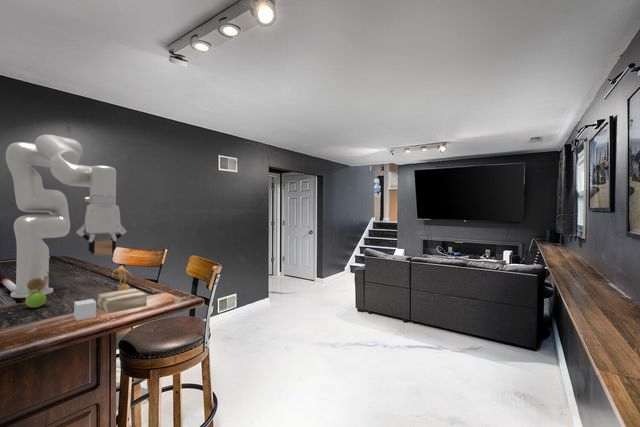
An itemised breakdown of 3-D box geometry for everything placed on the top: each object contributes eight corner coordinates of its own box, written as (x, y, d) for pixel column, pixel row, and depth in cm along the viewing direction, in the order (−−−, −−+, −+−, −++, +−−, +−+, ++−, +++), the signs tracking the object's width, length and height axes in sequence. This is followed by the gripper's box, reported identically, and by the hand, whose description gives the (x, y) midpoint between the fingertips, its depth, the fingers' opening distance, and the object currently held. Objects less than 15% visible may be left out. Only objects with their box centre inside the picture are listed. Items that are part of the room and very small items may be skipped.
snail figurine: (53, 305, 112) (53, 272, 112) (31, 310, 106) (32, 275, 106) (43, 303, 114) (43, 270, 114) (21, 308, 108) (22, 273, 108)
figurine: (136, 292, 132) (137, 264, 132) (128, 296, 126) (129, 266, 126) (116, 292, 132) (117, 263, 132) (107, 296, 126) (108, 266, 125)
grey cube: (73, 317, 102) (74, 301, 102) (92, 313, 105) (93, 298, 105) (76, 321, 98) (77, 305, 98) (96, 317, 102) (96, 302, 102)
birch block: (97, 306, 114) (97, 294, 114) (133, 299, 123) (133, 288, 123) (108, 314, 106) (109, 300, 106) (146, 306, 116) (146, 294, 116)
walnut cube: (92, 254, 111) (92, 239, 111) (108, 252, 114) (109, 239, 114) (94, 255, 107) (95, 241, 107) (112, 254, 111) (112, 240, 111)
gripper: (74, 200, 102) (73, 256, 102) (133, 202, 114) (132, 252, 114) (71, 200, 107) (70, 253, 108) (127, 202, 119) (127, 250, 119)
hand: (102, 252), depth 111 cm, fingers closed on walnut cube, 5 cm apart
